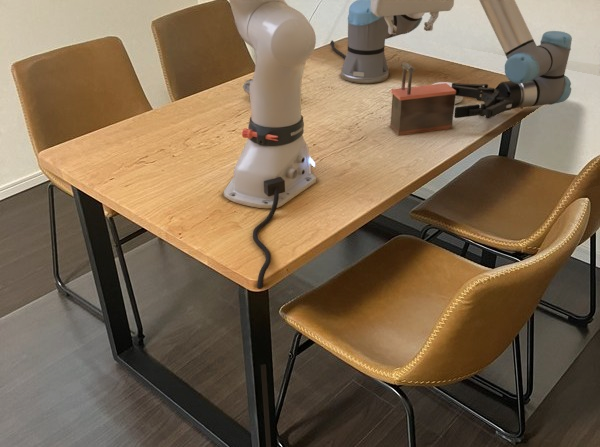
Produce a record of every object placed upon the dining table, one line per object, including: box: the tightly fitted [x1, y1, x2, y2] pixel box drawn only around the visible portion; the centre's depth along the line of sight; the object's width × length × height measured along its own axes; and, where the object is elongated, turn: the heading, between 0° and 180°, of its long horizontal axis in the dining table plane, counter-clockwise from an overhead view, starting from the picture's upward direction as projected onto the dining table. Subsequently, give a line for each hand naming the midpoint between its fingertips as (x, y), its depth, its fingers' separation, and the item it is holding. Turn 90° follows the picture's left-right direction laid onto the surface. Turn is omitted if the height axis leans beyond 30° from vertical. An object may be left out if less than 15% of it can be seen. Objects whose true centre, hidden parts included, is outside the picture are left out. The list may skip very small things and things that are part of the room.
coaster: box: [431, 81, 464, 105], centre depth 182 cm, size 10×10×4 cm
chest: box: [389, 93, 456, 136], centre depth 163 cm, size 15×6×10 cm, turn 105°
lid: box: [390, 61, 456, 100], centre depth 158 cm, size 16×6×8 cm, turn 105°
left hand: (410, 31), depth 151 cm, fingers open, 8 cm apart
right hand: (443, 103), depth 164 cm, fingers open, 13 cm apart
